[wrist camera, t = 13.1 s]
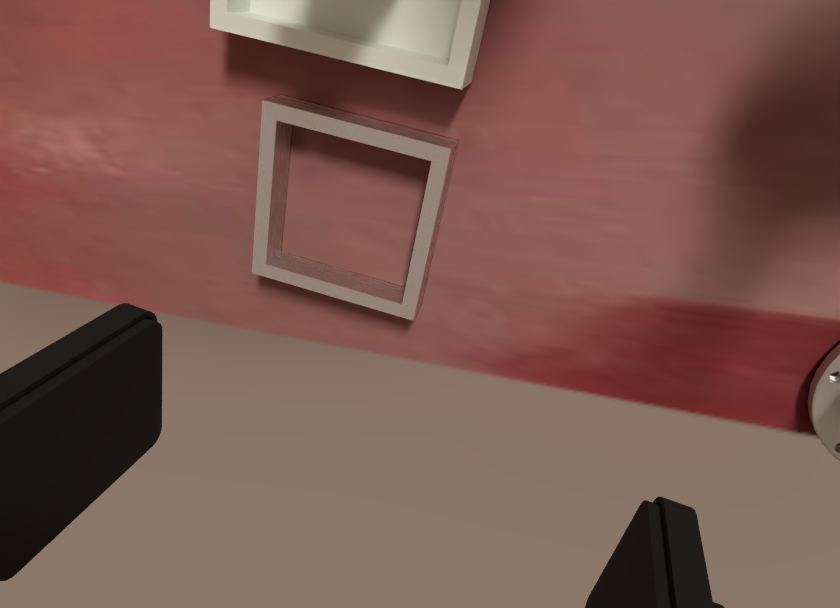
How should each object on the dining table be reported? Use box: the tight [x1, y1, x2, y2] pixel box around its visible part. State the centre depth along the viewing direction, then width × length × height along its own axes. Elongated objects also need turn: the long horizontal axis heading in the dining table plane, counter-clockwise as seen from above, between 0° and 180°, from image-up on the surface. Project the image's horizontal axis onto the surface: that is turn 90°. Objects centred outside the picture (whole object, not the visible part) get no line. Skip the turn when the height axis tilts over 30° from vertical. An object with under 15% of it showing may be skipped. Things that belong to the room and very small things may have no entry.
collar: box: [252, 95, 459, 321], centre depth 39 cm, size 12×12×2 cm
